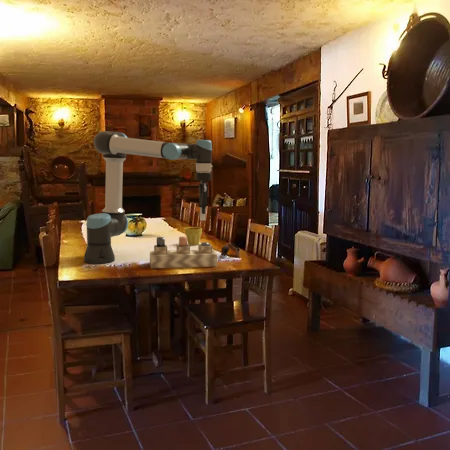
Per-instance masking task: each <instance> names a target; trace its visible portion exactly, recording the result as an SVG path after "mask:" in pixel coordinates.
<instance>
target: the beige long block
mask: <svg viewBox="0 0 450 450" xmlns="http://www.w3.org/2000/svg"><path fill="white" fill-rule="evenodd" d="M197 248H198V249H191V245H189V244H188V243H187V246H186V247H180V246H179V244H176V249H175V250H171V249H170V250H168V246H167V244H165V247H157V244H154V245H153V250H149V264H150V265H149V267H150V269H168V268H169V269H170V268H172V269H173V268H175V269H176V268H202V267H203V268H204V267H218V254H217V252H216V251H215V249H213V245H212V244H211V243H209V246H201V243H199V244H198V247H197Z"/></svg>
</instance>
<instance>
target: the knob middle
mask: <svg viewBox="0 0 450 450" xmlns="http://www.w3.org/2000/svg"><path fill="white" fill-rule="evenodd" d="M187 244H188V241H187V236H178V245H179V246H180V247H186V246H187Z"/></svg>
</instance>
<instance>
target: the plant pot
mask: <svg viewBox="0 0 450 450" xmlns="http://www.w3.org/2000/svg"><path fill="white" fill-rule="evenodd" d="M184 234H185V237H187V244H189V246H197V245H198V244H200V243H201V242H200V240H201V236H202V234H203V228H202V227H197V226H188V227H185V228H184Z"/></svg>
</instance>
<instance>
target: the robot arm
mask: <svg viewBox="0 0 450 450" xmlns="http://www.w3.org/2000/svg"><path fill="white" fill-rule="evenodd" d="M93 146H94V148H95V150H96V151H97V152H98V153H99V154H102V158H103V159H104V161H105V194H104V195H105V196H104V197H105V198H104V199H105V201H104V204H105V207H104V208H103V209H102V210H101V212H100V213H94V214H90V215H88V216H87V218H86V224H85V225H86V245H87V246H86V249H85V252H84V255H83V262H84V263H86V264H92V263H93V264H92V265H96V264H97V265H99V264H100V263H103V264H109V263H108V262H110V263H112V262H115V260H116V256H115V254H114V253H115V252H114V250H113V247H112V238H113V237H117V236H120V235H122V234H124V233H125V232H126V231H127V229H128V227H129V219H128V217H127V216H126V214H125V213H126V211H125V209H124V208H123V177H124V176H123V172H124V171H123V170H124V161H126V159H127V155H136V156H142V157H150V158H151V157H153V158H160V159H166V160H171V161H175V160H196V161H195V171H196V173H195V180H197V181H199V182H200V183H199V184H198V189H199V195H198V196H199V212H200V213H199V221H207V206H208V195H209V194H208V191H209V184H208V181H212V168H213V167H214V166H213V164H212V161H213V160H212V157H213V156H212V155H213V146H212V140H209V139H197V140H196V143H181V142H180V143H179V142H178V143H177V142H169V141H168V142H167V141H166V142H165V141H159V140H149V139H142V138H141V139H140V138H132V137H128V136H127V134H125V133H123V132H120V131H111V130H109V131H108V130H104V131H100V132H98V133H96V135H95V136H94V139H93ZM100 265H101V264H100Z"/></svg>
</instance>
